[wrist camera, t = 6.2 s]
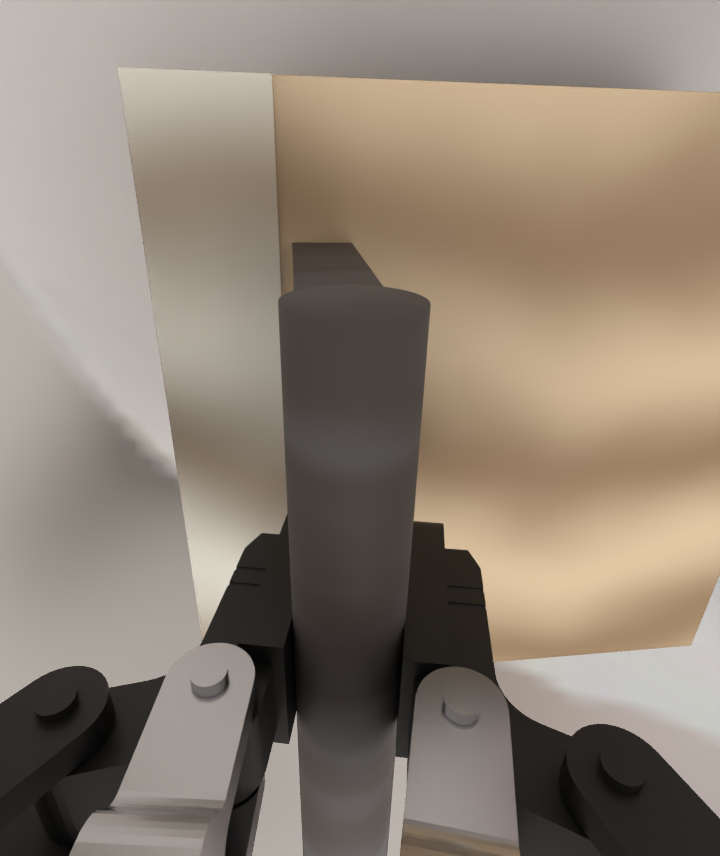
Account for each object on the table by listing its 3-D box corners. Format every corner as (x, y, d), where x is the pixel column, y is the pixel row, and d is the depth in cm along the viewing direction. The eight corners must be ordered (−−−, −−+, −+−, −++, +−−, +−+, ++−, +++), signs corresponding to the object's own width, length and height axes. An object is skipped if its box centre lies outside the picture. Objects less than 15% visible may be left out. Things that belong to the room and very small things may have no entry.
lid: (132, 74, 12) (-183, -86, 4) (871, 103, 14) (1646, 36, 6) (214, 662, 20) (164, 999, 12) (674, 625, 22) (893, 891, 14)
